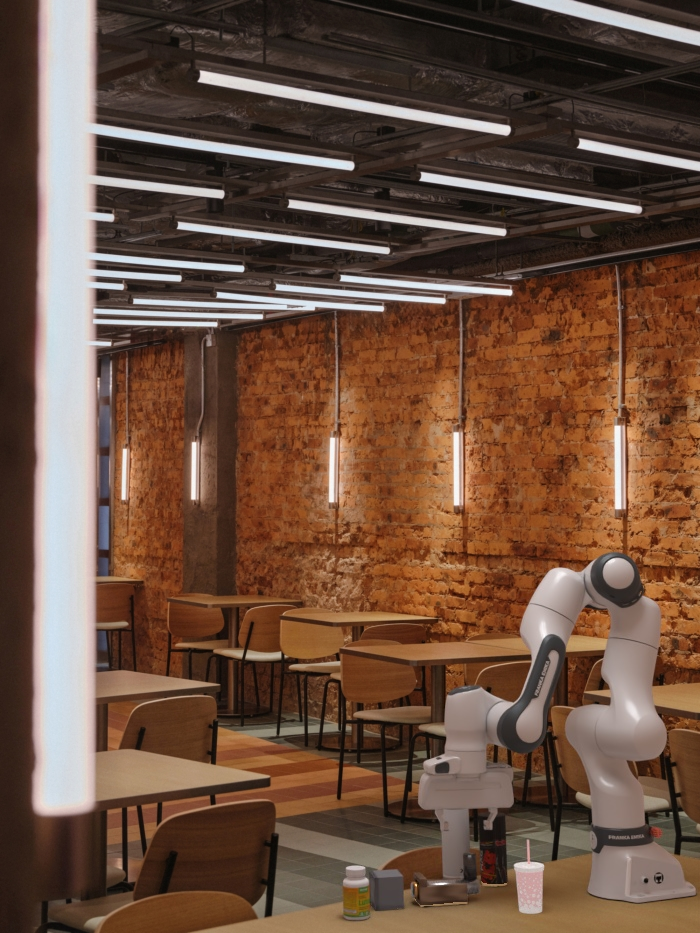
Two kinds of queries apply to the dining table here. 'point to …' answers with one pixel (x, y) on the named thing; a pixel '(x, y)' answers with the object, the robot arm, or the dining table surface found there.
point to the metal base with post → (469, 879)
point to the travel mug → (455, 842)
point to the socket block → (386, 889)
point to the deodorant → (493, 850)
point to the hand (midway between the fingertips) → (466, 830)
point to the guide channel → (439, 891)
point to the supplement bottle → (356, 894)
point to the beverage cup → (529, 885)
